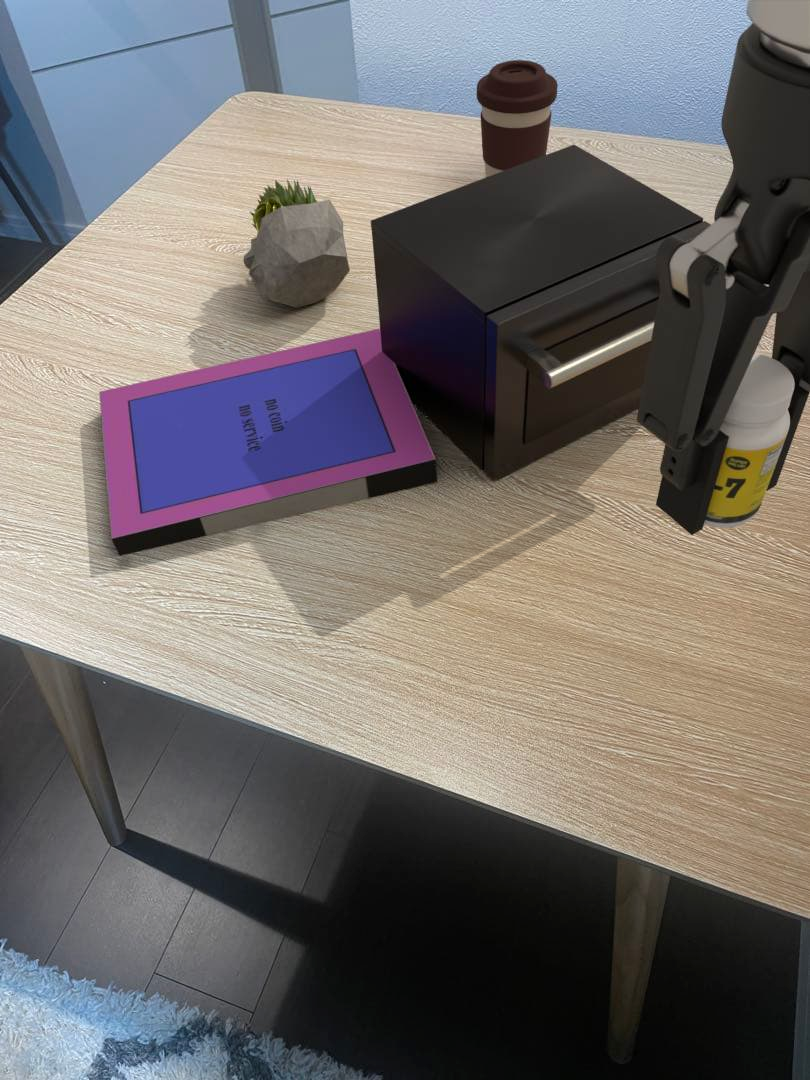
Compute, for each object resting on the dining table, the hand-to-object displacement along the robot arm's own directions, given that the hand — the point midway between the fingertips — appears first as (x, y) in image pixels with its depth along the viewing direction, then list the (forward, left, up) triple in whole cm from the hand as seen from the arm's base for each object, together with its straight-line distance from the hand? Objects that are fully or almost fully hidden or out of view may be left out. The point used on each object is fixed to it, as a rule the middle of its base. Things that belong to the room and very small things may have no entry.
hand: (716, 494), depth 49 cm
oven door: (+20, -25, -25) cm, 41 cm away
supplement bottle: (0, 0, -1) cm, 1 cm away
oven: (+31, -29, -25) cm, 49 cm away
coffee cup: (+55, -61, -26) cm, 86 cm away
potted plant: (+63, -27, -26) cm, 73 cm away
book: (+46, -5, -26) cm, 53 cm away
